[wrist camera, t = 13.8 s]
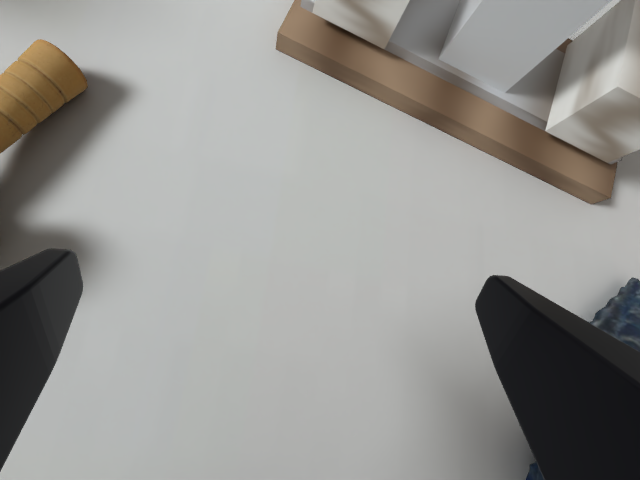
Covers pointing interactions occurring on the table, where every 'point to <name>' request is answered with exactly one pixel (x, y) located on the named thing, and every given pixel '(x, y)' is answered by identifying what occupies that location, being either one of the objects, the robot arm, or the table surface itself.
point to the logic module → (511, 35)
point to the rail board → (482, 99)
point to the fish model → (614, 329)
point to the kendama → (36, 89)
